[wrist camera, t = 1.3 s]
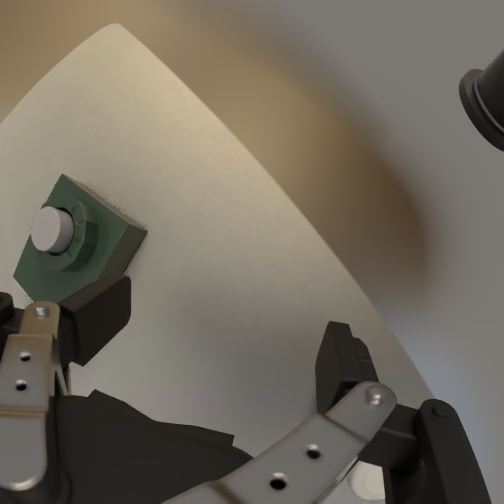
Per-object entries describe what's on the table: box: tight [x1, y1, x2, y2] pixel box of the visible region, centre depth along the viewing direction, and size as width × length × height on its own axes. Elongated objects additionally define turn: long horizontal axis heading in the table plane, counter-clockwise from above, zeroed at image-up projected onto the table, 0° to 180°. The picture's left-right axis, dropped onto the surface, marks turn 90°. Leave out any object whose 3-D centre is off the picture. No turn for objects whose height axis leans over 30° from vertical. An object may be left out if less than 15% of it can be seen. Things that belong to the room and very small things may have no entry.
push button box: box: [13, 174, 147, 304], centre depth 24 cm, size 12×10×6 cm
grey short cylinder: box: [31, 207, 74, 253], centre depth 20 cm, size 4×4×2 cm
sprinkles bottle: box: [346, 461, 385, 500], centre depth 18 cm, size 5×5×13 cm
